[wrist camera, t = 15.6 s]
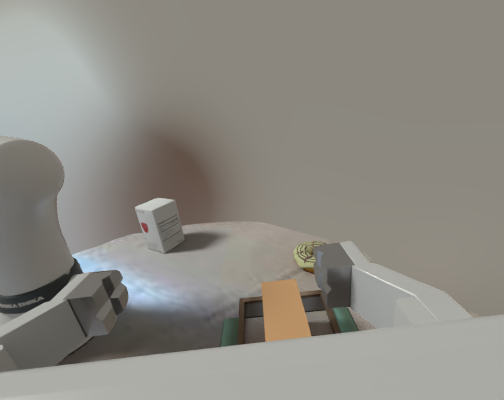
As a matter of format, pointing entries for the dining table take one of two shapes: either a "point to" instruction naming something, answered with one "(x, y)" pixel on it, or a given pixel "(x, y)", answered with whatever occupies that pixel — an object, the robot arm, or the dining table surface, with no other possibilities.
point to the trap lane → (254, 308)
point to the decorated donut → (306, 255)
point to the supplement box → (160, 224)
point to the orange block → (283, 311)
